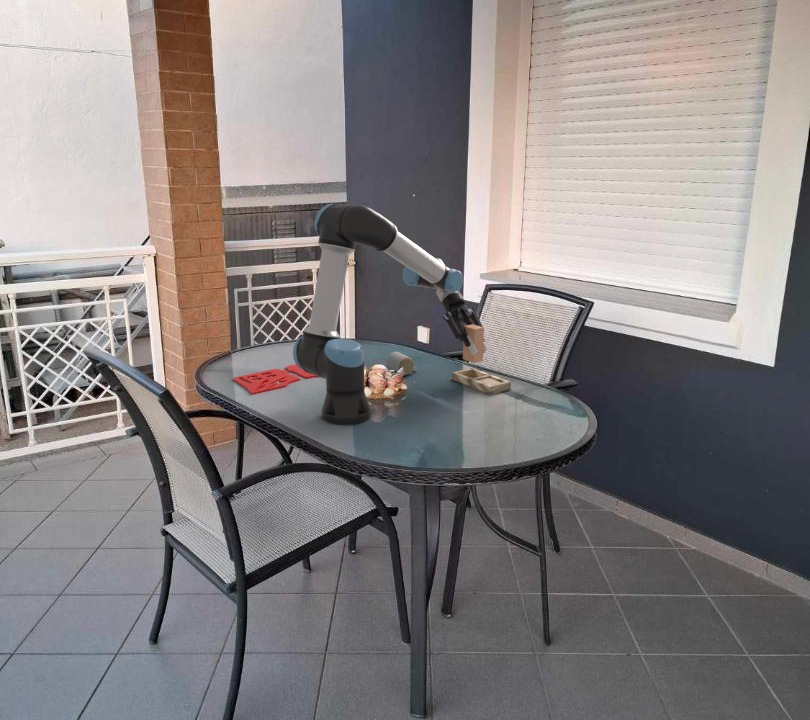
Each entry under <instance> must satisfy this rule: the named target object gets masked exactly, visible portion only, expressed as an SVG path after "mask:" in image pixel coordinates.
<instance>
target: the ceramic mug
mask: <svg viewBox="0 0 810 720" xmlns="http://www.w3.org/2000/svg"><path fill="white" fill-rule="evenodd" d="M414 364H415V363H414V360H413V359H412V358H411V357H410V356H407V355H406V354H403V353H401V352H399V351H392V352H391V353H390V354H389V355H388V356H387V358H386V367H387V370H388V371H390V370H394V371H398V370H399V369H400V368H402V367H403V368H404V372H405V375H404V376H408V375H410V374H411V373H412V372H417V369H418V367H417V366H414Z"/></svg>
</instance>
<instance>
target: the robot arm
mask: <svg viewBox="0 0 810 720" xmlns="http://www.w3.org/2000/svg"><path fill="white" fill-rule="evenodd" d="M313 226H314V231H315V232H316V235H317V236H318V243H317V245H319V248H320V249H321V255H320V260H319V268H318V272H317V277H316V282H315V284H316V285H315V290H314V296H313V301H312V308H311V314H310V320H309V325H308V326H307V327H305V328H304V329H303V332H302V336H300V337H299V338H298V340H296V341H295V343H294V345H293V349H292V357H293V361H294V364H297V366H298V367H299V368H300V369H302V370H304V371H305V372H307V373H309V374H313V375H316V376H319V377H318V378H322V379H324V380H325V383H326V384H325V385H326V388H325V389H326V395H325V397H324V400H323V405H322V408H321V418H322V420H323V421H325V422H326V423H329V424H333V425H342V426H343V425H348V426H349V425H356V424H360V423H363V422H366V421H367V420H370V419H371V415H372V409H371V406H370V403H369V401H368V398H367V396H366V395H367V394H366V391H365V355H364V354H365V353H364V349H363V346H362V345H361V344H360V343H359V342H357V341H355V340H352V339H345V338H340V337H341V336H340V333H339V332H338V331H337V328H338V323H339V322H338V321H339V317H340V316H339V315H340V310H341V305H342V298H343V292H344V286H345V281H346V276H347V271H348V263H349V257H350V255H351V254H353V253H355V251H356V246H357V245H360V246H361V245H363V246H364V247H365V246H366V247H369V248H371V249H373V250H375V251H376V252H379V253H381V252H384V253H385V254H387V255H388V256H390V257H391V258H393V259H394V260H395V261H397V262H399V263H401V264H402V265H403V266H405V267H404V268H403V270H402V275H401V276H402V281H403V282H404V284H405V285H406V286H409V287H410V286H411V287H421V288H428V289H433V290H434V291H435V293H436V295H437V297H438V298H439V301H440V303H441V305H442V307H443V308H444V310H445V311H446V312H445V313H444V314H443V316H442V318H443V320H444V321H445V322H446V323H447V325H448V326H449V328H450V329H451V332H452V334H453V335H454V337H455V339H457V340H458V339H459V341H460V342H462V343H463V342H464V344H465V346H466V347H468V348H469V350H470V352H471V354H472V356H473V355H475V354H476V353H477V352H478V351H477V349H476V347H475V345H474V343H473V341H472V340H471V338H470V336H467V334H466V331H465V328H464V326H465V325H471V324H473V325H476V326H480V327H483V328H484V325H483V324H482V323H481V321H480V319H479V316H478V314H477V311H476V307H472V308H469V307H468V306H467V305H466V304H465V303H466V302H465V299H464V297H463V295H462V293H461V292H460V290H461V289H462V287H463V284H464V276H463V273H462V272H461V271H460V270H458V269H455V268H450V267H448V266H447V265H446V264H445V263H444V262H443V260H442V259H441V258H439V257H438V258H437V257H436V258H435V257H434V256H433V255H431V254H429V252H427V251H426V250H424V249H423V248H422V247H420V246H419V245H418V244H416V243H414V242H413V241H412V240H410V238H407V236H405V235H404V234H402V233H401V232H399V231H398V228H397V225H396V224H394V223H393V222H392V221H390V220H389V219H387V218H386V217H384V216H383V215H382V214H380V213H378V212H377V211H376V210H373V209H372V208H370V207H368V206H366V205H362V204H349V203H342V202H336V203H329V204H327V205H324V206H322V208H320V209H319V210H318V212H317V214H316V216H315V219H314V225H313ZM464 323H465V325H464ZM485 340H486V339H485V338H483V354H485V353H486V352H487V351H488V350H489V347H488V346H487V344H486V341H485Z"/></svg>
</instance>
